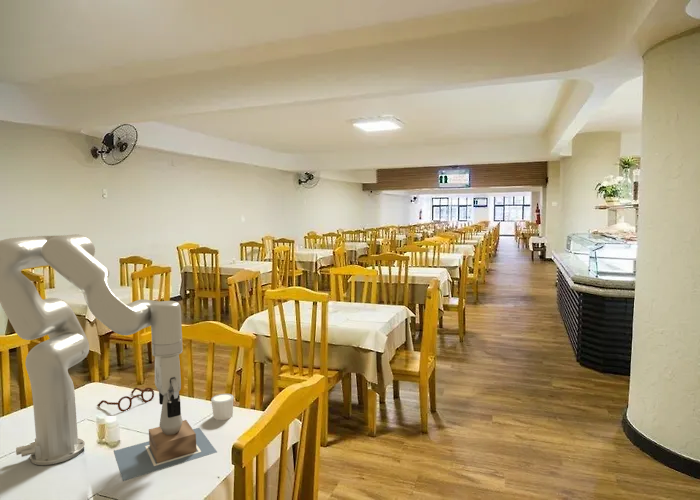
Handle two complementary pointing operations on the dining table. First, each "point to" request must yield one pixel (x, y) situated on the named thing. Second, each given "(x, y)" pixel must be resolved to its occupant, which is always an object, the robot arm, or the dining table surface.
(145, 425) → the dining table surface
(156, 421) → the dining table surface
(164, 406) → the salt shaker
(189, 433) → the walnut block
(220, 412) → the white rounded cylinder
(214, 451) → the board
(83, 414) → the dining table surface
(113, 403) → the glasses
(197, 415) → the dining table surface
